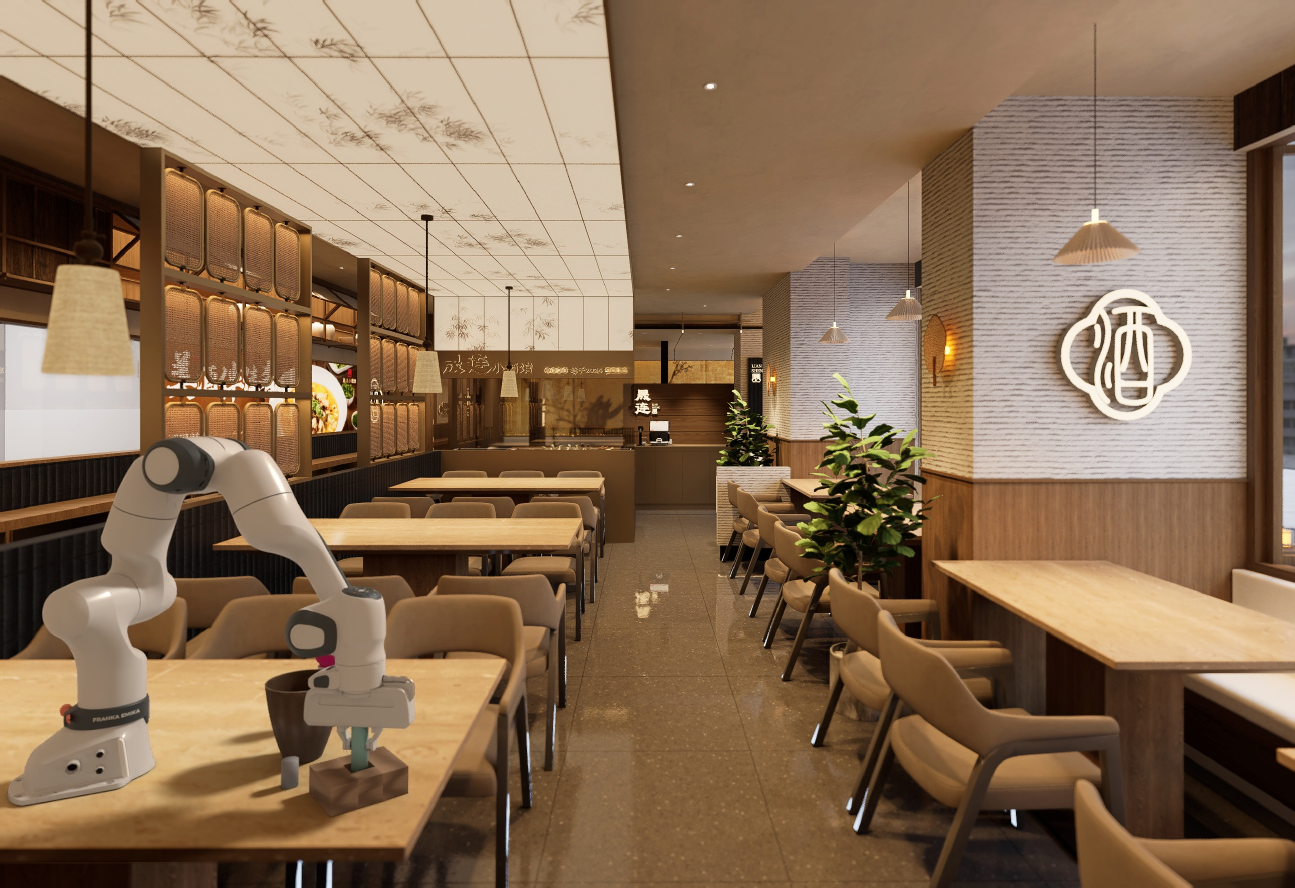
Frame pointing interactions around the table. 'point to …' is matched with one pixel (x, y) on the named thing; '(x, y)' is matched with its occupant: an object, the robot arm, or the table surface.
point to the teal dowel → (359, 748)
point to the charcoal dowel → (289, 772)
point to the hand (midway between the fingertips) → (359, 749)
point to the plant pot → (294, 717)
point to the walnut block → (357, 781)
